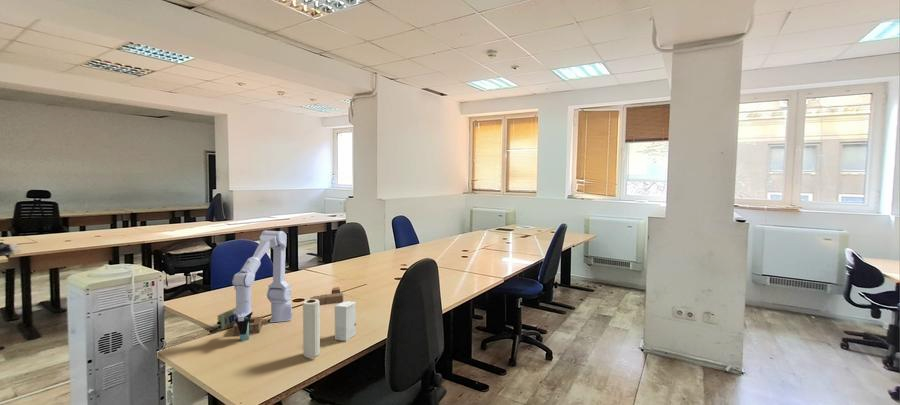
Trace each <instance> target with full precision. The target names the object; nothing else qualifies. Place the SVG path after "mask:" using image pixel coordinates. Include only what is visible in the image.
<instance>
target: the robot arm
mask: <svg viewBox="0 0 900 405" xmlns="http://www.w3.org/2000/svg"><path fill="white" fill-rule="evenodd" d="M287 236H288V235H287V234H286V233H285V232H284V231H283V230H279V231H277V230H263V231H262V232H261V234H260V235H259V244H258V245H257V247H256V249H255V251H254V253H253V255H252V256H251V257H248V258H247V260H246V261H245V263H244V264H243V266H242V267H241V269H240V271H238V272H237V273H235V274H234V275H233V278H232V280H231V283H232V285H233V289H234V290H235V308H236V311H233V314H236V315H237V316H238V318H235V322H236V324H237V326H238V328H239V332H240V335H244V334H246V332H247V326H248V322H250V318H252V315H253V313H254V312H253V309H252V285H253V284H254V283H255V278H256V273H257V271H258V270H259V269H260V266H261V264H262V263H261V259H262V258H263V256H264V255H265V254H266V252H268V250H269V249H272V250H273V258H272V260H273V262H272V267H273V268H272V271H273V272H272V282H271V283H270V284H268V287H267V288H268V289H267V291H266V298H267V300H268V301H269V302H270V305H271V306H270V308H271V309H270V311H271V312H270V313H271V314H270V319H269V323H278V322H290V321H292V317H293V301H292V300H290V299H291V296H292V291H291V290H292V289H291V285H290V283H288V281H286V280H285V279H286V248H287V241H288V240H287V239H288V238H287ZM246 317H248V318H246ZM240 335H239V336H240Z"/></svg>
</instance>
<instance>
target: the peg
mask: <svg viewBox="0 0 900 405" xmlns="http://www.w3.org/2000/svg"><path fill="white" fill-rule="evenodd" d="M246 318H248V317H246ZM249 339H250V334H249V322H248V326H247V332H246V334H244V335H239V341H241V342H245V341H248V340H249Z"/></svg>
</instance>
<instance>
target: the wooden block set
mask: <svg viewBox="0 0 900 405" xmlns="http://www.w3.org/2000/svg"><path fill="white" fill-rule="evenodd" d="M309 299H317V300H319V306H320V305H332V304H333V305H334V304H339V303H342V302H344V294H343V292H341V288H340V287H339V286H337V287H335V286H334V287H332V289H331V293H327V294H321V295H315V296H312V297H310V298H309Z"/></svg>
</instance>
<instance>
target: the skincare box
mask: <svg viewBox="0 0 900 405" xmlns="http://www.w3.org/2000/svg"><path fill="white" fill-rule="evenodd" d="M356 307H357V302H356V301H349V300H347V301H345V300H343V302H342V303H337V304H336V305H334V340H337V341H342V342H347V341H348V340H350V339H351V338H353V337H354V336H356V335H357V308H356Z"/></svg>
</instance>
